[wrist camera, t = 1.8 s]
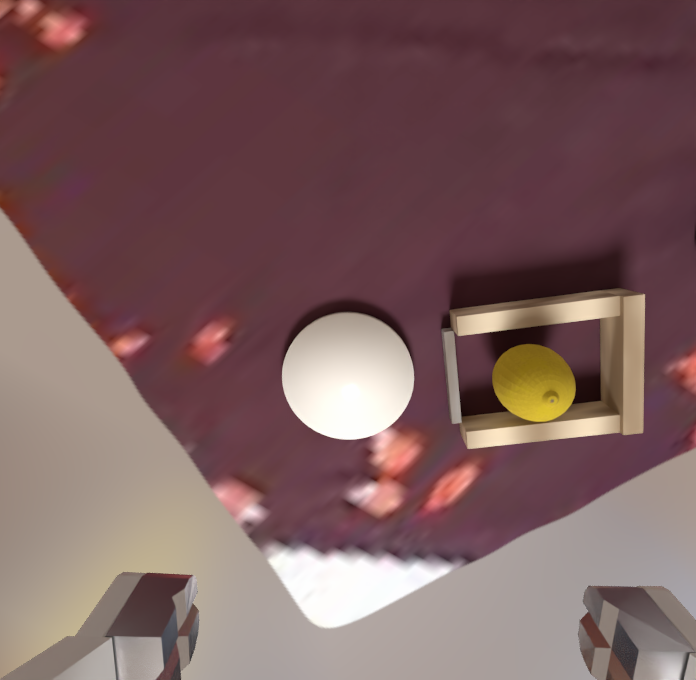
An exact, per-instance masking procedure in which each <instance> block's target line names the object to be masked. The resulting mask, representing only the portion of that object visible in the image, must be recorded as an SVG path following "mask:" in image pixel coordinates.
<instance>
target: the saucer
mask: <svg viewBox="0 0 696 680" xmlns="http://www.w3.org/2000/svg"><path fill="white" fill-rule="evenodd" d="M282 382H283V389H284V393H285V396H286V398H287V401H288V403H289V405H290V407H291V408H292V410H293V411H294V413H295V414H296V415H297V416H298V417H299V419H300V420H301V421H302V422H304V423H305V424H306V425H307V426H309V427H310V428H312V429H313V430H315V431H317V432H319V433H321V434H323V435H326V436H329V437H332V438H338V439H360V438H365V437H368V436H372V435H374V434H377V433H379V432H381V431H383V430H384V429H386V428H387V427H389V426H390V425H391V424H393V423H394V422H395V421H396V420H397V419H398V418H399V417H400V415H401V414H402V413H403V411H404V410H405V408H406V406H407V404H408V403H409V400H410V397H411V395H412V391H413V385H414V369H413V364H412V360H411V357H410V354H409V351H408V349H407V347H406V345H405V343H404V342H403V340H402V339H401V337H400V336H399V335H398V334H397V333H396V332H395V331H394V330H393V329H392V328H391V327H390V326H389V325H387V324H386V323H384V322H383V321H381V320H379V319H377V318H375V317H373V316H370V315H367V314H363V313H358V312H337V313H332V314H329V315H326V316H323V317H320V318H318V319H316V320H314V321H313V322H311V323H310V324H308V325H307V326H306V327H305V328H304V329H303V330H301V332H300V333H299V334H298V335H297V336H296V338H295V339H294V341H293V342H292V344H291V345H290V347H289V349H288V351H287V353H286V356H285V359H284V363H283V369H282Z"/></svg>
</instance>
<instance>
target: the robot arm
mask: <svg viewBox="0 0 696 680" xmlns="http://www.w3.org/2000/svg"><path fill="white" fill-rule="evenodd" d="M197 592H198V591H197V581H196V577H195V576H194V575H179V574H161V573H132V572H123V573H121V574H119V575H118V576H117V577H116V578H115V580H114V581H113V582H112V584H111V585H110V587H109V588H108V590H107V591H106V592H105V594H104V595H103V597H102V598H101V600H100V601H99V602H98V604H97V605H96V607H95V608H94V610H93V611H92V613H91V614H90V615H89V617H88V618H87V620H86V621H85V623H84V624H83V625H82V627H81V628H80V630H79V631H78V633H77V634H76V635H75V636H67V637H65V638H64V639H62V640H61V641H59V642H58V643H56V644H54V645H53V646H51V647H50V648H48V649H47V650H45V651H43V652H42V653H40V654H39V655H37V656H36V657H34V658H32V659H31V660H30V661H28V662H26V663H25V664H23V665H21V666H20V667H18V668H17V669H15V670H14V671H12V672H10V673H9V674H7V675H6V676H4V677H3V678H1V679H0V680H181V670H183V669H184V668H185V667H186V666H187V665H188V664H189V663H190V661H191V658H192V656H193V653H194V650H195V646H196V641H197V636H198V629H199V610H198V609H197V608H196V607H195V605H194V604H193V601H194V599H195V597H196V594H197ZM583 604H584V605H585V607H586V609H587V610H588V613H587V614H586V615H585V616H584V617H583V618H582V619H581V620H580V622H579V631H578V637H579V645H580V651H581V654H582V656H583V659H584V662H585V664H586V666H587V668H588V670H589V672H590V674H591V675H592V676H594V677H595V678H596V679H597V680H696V620H695V619H694V617H693V616H692V615H691V614H690V613H689V612H688V611H687V610H686V609H685V607H684V606H683V605H682V604H681V603H680V602H679V601H678V600H677V598H676V597H675V596H674V595H673V594H672V593H671V592H670V591H669V590H668V589H666V588H664V587H662V586H637V587H621V586H588V587H587V589H586V590H585V592H584V597H583Z"/></svg>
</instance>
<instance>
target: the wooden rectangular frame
mask: <svg viewBox="0 0 696 680" xmlns="http://www.w3.org/2000/svg"><path fill="white" fill-rule="evenodd" d="M598 318H600V361H601V401H595V402H586V403H577V404H571V405H570V407H569V408H568V409H567V411H566V412H564V413H563V414H562V415H561V416H559V417H557V418H555V419H553V420H549V421H545V422H534V421H530V420H525V419H523V418H521V417H519V416H517V415H515V414H513V413H511V412H510V411H507V412H498V413H490V414H481V415H472V416H463V417H461V408H460V397H459V385H458V374H457V362H456V351H455V339H454V332H455V333H456V334H457V335H458V336H462V335H470V334H478V333H486V332H494V331H502V330H510V329H518V328H526V327H534V326H542V325H550V324H558V323H566V322H574V321H582V320H590V319H598ZM450 321H451V328H444V329H441V331H442V341H443V352H444V363H445V374H446V384H447V395H448V406H449V417H450V420H451V422H452V424H455V423H459V424H460V433H461V435H462V438H463V440H464V442H465V444H466V446H467V448H468V449H472V448H481V447H490V446H500V445H509V444H518V443H527V442H536V441H545V440H554V439H563V438H573V437H582V436H591V435H600V434H609V433H618V432H620V433H621V434H623V435H629V434H638V433H643V402H644V328H645V294H642V293H638V292H634V291H630V290H626V289H621V288H615V289H607V290H599V291H591V292H584V293H576V294H568V295H560V296H553V297H545V298H537V299H529V300H522V301H514V302H506V303H499V304H491V305H483V306H475V307H468V308H460V309H452V310H450Z"/></svg>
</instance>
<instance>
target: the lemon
mask: <svg viewBox="0 0 696 680" xmlns="http://www.w3.org/2000/svg"><path fill="white" fill-rule="evenodd" d="M492 382H493V387H494V390H495V394H496V396H497V397H498V399H499V400H500V402H501V403H502V405H503V406H504V407H506V408H507V409H508V410H509V411H510V412H511V413H513V414H515V415H517V416H519V417H521V418H523V419H525V420H530V421H534V422H545V421H549V420H553V419H555V418H557V417H559V416H561V415H562V414H563V413H564V412H566V411H567V409H568V408H569V407H570V405H571V404H572V402H573V399H574V397H575V391H576V385H575V378H574V376H573V373H572V371H571V369H570V367H569V366H568V364H567V363H566V362H565V361H564V359H563V358H562V357H561V356H560V355H558V354H557V353H555V352H554V351H553V350H551V349H549V348H546V347H543V346H541V345H535V344H523V345H518V346H515V347H513V348H510V349H509V350H507V351H506V352H504V353H503V354H502V355H501V357H500V358H499V359H498V360H497V362H496V364H495V366H494V370H493V374H492Z"/></svg>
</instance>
